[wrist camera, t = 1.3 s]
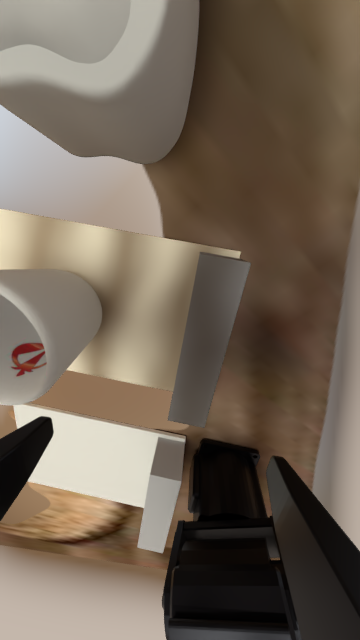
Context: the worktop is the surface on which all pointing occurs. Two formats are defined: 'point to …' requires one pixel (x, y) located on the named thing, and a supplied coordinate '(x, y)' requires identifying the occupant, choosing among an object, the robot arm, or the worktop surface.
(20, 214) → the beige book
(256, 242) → the worktop surface
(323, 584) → the robot arm
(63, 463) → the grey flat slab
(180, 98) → the lumpy-topped squat cylinder
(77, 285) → the cup
